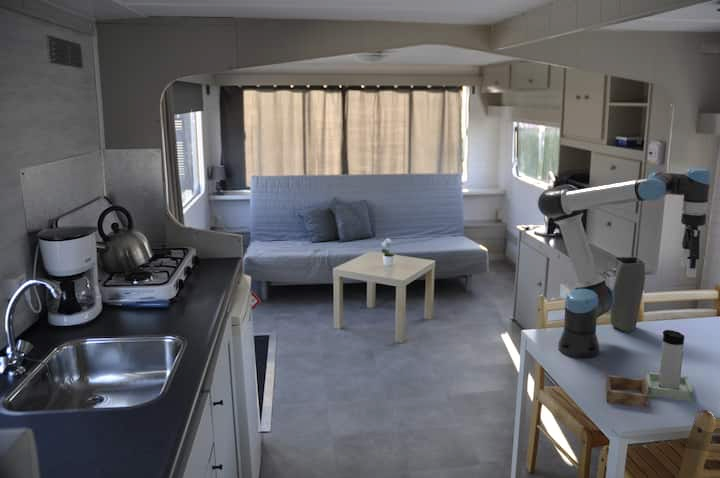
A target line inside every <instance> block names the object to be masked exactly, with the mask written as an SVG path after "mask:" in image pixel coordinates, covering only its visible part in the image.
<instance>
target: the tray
mask: <svg viewBox="0 0 720 478" xmlns="http://www.w3.org/2000/svg"><path fill="white" fill-rule="evenodd" d="M659 373H660V372H659ZM659 373H658V372H649V371H645V374H644V380H645V382H646V387H647V392H648V397H654V398H655V397H656V398H661V397H663V398H664V399H669V398H670V400H671V399H672V400H677V399H679V400H678V401H685V402H686V401H687V402H693V400H694V391H693V388H692V385H691V382H690V379H689V377H688V376H684V375H681V377H680V386H679V390H676V389H668V388H660V387H659V386H658V384H659Z"/></svg>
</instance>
